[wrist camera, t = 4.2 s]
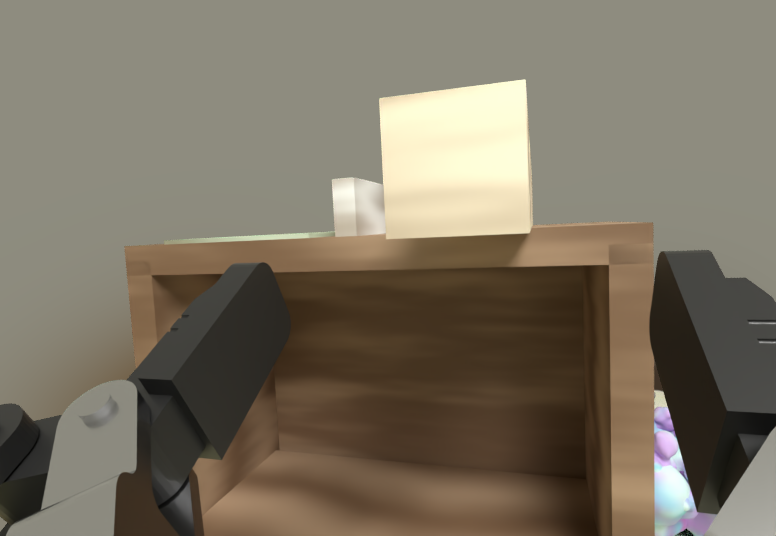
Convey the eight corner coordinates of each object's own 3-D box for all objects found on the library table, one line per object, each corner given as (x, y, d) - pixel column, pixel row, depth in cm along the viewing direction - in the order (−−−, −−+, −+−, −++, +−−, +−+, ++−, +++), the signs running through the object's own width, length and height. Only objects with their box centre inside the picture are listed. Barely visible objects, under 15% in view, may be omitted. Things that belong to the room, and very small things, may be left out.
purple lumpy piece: (793, 586, 36) (776, 352, 43) (501, 510, 46) (524, 329, 52) (740, 568, 53) (733, 402, 59) (533, 516, 62) (547, 377, 69)
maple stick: (482, 227, 35) (480, 178, 35) (532, 224, 34) (531, 174, 34) (386, 239, 12) (379, 98, 12) (529, 233, 11) (525, 79, 11)
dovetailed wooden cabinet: (282, 642, 39) (251, 204, 36) (613, 715, 32) (606, 179, 29) (177, 818, 27) (119, 196, 25) (656, 991, 20) (652, 153, 18)
